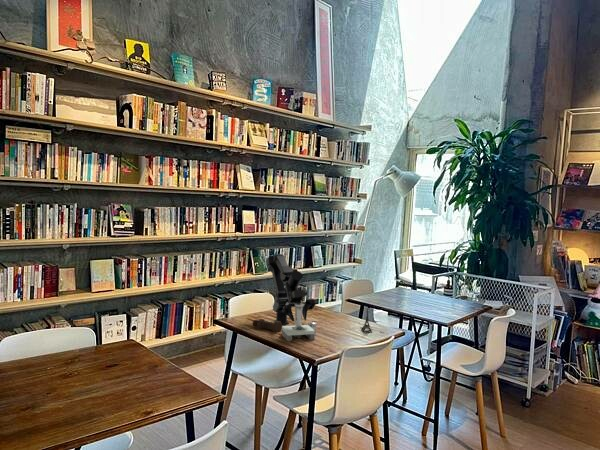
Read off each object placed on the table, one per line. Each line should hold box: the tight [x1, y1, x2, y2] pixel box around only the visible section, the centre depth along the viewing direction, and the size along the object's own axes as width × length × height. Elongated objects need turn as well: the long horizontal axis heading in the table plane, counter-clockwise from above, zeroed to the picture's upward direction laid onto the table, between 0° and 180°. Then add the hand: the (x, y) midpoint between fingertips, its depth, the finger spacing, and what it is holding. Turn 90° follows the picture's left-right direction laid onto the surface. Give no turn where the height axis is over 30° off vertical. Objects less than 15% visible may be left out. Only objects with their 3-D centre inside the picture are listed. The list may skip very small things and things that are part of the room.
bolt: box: [251, 318, 283, 333], centre depth 216 cm, size 6×5×15 cm
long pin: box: [293, 303, 304, 339], centre depth 205 cm, size 4×4×16 cm
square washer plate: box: [281, 324, 316, 342], centre depth 205 cm, size 10×13×4 cm
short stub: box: [307, 321, 318, 334], centre depth 213 cm, size 4×4×5 cm
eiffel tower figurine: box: [351, 307, 385, 334], centre depth 219 cm, size 15×10×13 cm
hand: (299, 320), depth 204 cm, fingers open, 6 cm apart
